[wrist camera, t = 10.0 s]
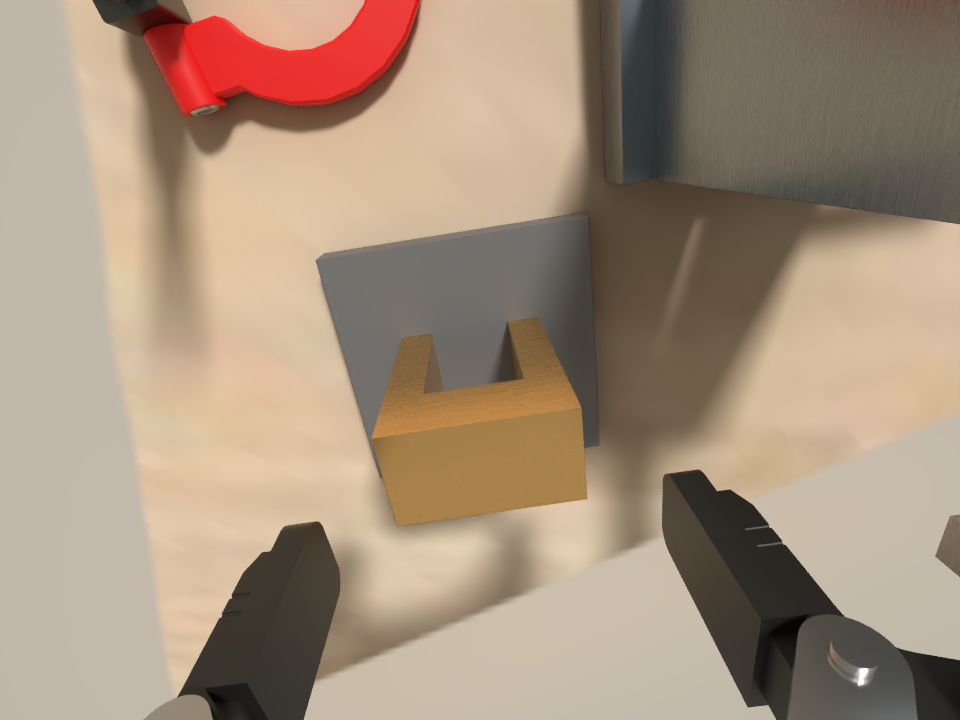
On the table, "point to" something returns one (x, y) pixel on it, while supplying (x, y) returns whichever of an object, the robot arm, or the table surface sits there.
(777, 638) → the robot arm
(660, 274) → the table surface
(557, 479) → the ochre slotted block
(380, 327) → the rubber mat
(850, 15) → the vise
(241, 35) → the tow hook
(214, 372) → the table surface
